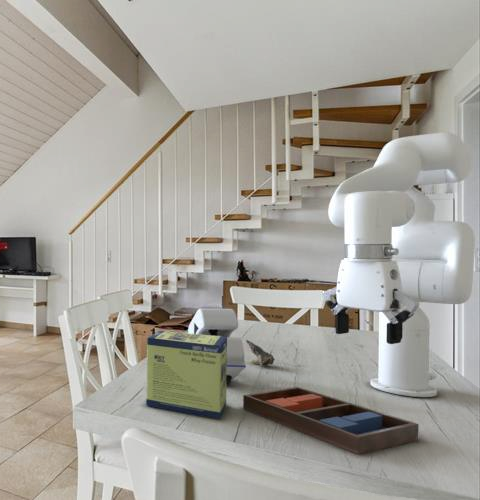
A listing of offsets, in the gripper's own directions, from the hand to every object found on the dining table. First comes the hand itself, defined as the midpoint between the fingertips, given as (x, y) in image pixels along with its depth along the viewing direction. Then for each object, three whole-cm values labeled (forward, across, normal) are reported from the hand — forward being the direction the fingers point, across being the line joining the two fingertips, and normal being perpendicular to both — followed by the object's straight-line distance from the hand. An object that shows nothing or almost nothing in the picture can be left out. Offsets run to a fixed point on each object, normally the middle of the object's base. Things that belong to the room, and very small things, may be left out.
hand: (366, 338), depth 96 cm
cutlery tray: (+17, +3, +8) cm, 19 cm away
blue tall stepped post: (+16, -3, +9) cm, 19 cm away
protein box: (+17, +21, +27) cm, 38 cm away
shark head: (+18, +41, -18) cm, 48 cm away
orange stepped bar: (+16, +9, +9) cm, 20 cm away
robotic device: (+18, +35, +5) cm, 39 cm away
